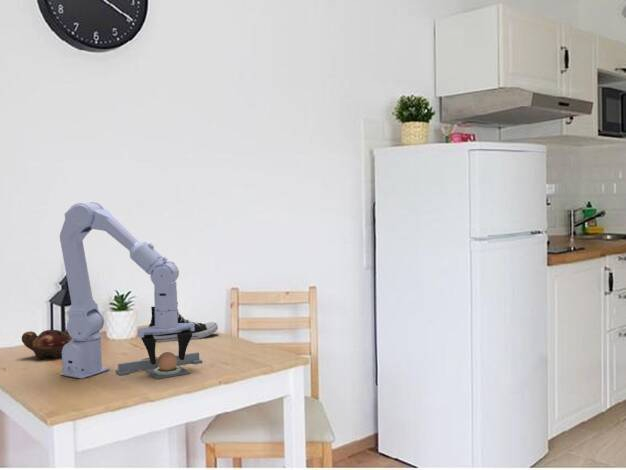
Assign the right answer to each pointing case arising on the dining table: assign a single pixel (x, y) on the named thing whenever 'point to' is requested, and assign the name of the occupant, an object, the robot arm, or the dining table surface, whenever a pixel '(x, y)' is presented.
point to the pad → (160, 374)
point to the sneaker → (199, 332)
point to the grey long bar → (145, 364)
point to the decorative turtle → (46, 342)
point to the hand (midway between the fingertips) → (167, 361)
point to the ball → (167, 361)
